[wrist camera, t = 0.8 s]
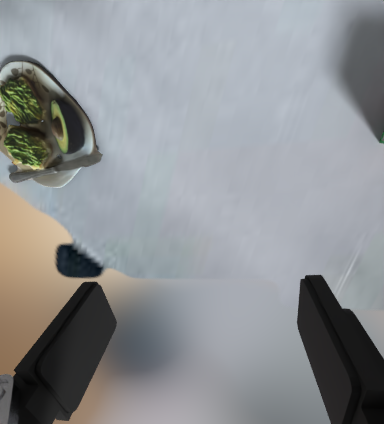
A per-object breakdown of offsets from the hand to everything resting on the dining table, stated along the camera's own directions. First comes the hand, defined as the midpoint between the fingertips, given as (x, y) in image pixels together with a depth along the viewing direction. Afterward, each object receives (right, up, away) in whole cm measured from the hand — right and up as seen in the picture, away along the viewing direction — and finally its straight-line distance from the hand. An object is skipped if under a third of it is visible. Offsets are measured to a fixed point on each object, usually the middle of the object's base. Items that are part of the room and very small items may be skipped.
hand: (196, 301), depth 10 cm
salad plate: (-24, +18, +25) cm, 39 cm away
